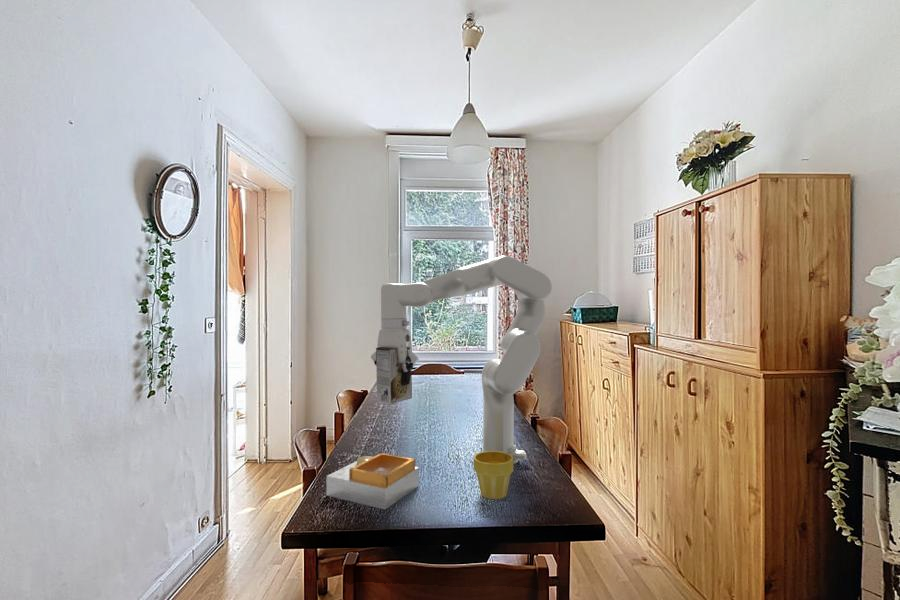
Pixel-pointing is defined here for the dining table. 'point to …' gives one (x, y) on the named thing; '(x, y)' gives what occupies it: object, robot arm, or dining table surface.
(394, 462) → the white and orange tray
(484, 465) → the plant pot
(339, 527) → the dining table surface
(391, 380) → the coffee box
